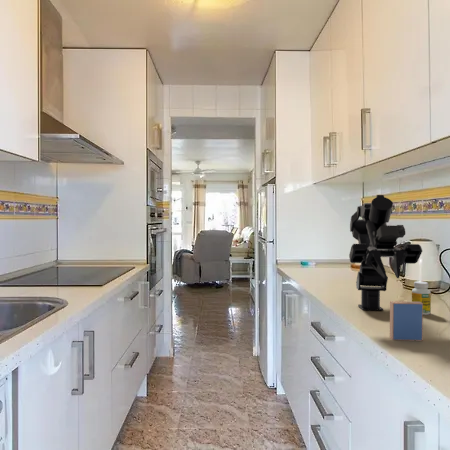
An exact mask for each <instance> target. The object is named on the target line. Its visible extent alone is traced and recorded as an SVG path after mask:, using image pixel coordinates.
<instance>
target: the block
mask: <svg viewBox="0 0 450 450" xmlns="http://www.w3.org/2000/svg"><path fill="white" fill-rule="evenodd" d="M423 316H424V315H423V303H421V302H412V301H406V300H405V301H402V300H399V301H397V300H395V301H394V300H390V301H389V338H390V339H391V340H392V341H414V340H416V341H419V342H420V341H421V342H422V341H423V336H424V335H423V333H424V332H423V329H424V328H423V325H424V324H423V322H424V321H423Z"/></svg>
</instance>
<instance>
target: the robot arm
mask: <svg viewBox="0 0 450 450" xmlns="http://www.w3.org/2000/svg"><path fill="white" fill-rule="evenodd" d="M393 206H394V202H393V201H392V199H390V198H388V197H385V195H384V194H376V197H374V198H373V199H372V200H371V202H365V203H363V204H362V205H359V206H356V207H357V208H356V211H355V213H353V214H352V215H351V216H350V222H349V223H350V224H349V229H350V230H349V231H350V232H351V234H352V237H353V239H355V240H357V241H358V243H353V244H352V245H351V247H350V251H349V255H348V256H349V258H348V259H349V262H350V263H352V264H360V265H359V270H358V272H357V277H356V281H355V283H356V289H357V291H361V296H360V299H361V300H360V302H361V304H357V307H359V308H360V309H361V310H363V311H384V308H383V307H382V306H381V299H380V298H381V292H386V291H387V287H388V286H387V284H388V280H389V279H388V277H389V276H387V272H386V268H385V266H384V263H383V261H382V258H392V262H391V267H392V270H393V273H394V275H395V277H396V279H400V275H401V268H402V267H401V266H403V264H408V265H409V264H416V263H418V261H419V260H420V257H421V255H422V253H423V248H422V246H421V245H420V244H418V243H405V244H404V246H403V249H401V248H399V247H398V248H395V247H397V245H398V242H397V240H398V239H400V238H404V236H405V235H406V228H405V226H404V225H403V224H397V225H388V224H387V223H389V222H390V220H391V214H393Z"/></svg>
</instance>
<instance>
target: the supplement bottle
mask: <svg viewBox="0 0 450 450" xmlns="http://www.w3.org/2000/svg"><path fill="white" fill-rule="evenodd" d="M413 287H414V288H412V290H411V302H421V303H423V316H425V315H426V316H427V315H430V314H431V308H432V307H431V305H432V304H431V302H432V292H431V290H430V289H428V288H429V282H426V281H414V282H413Z"/></svg>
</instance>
